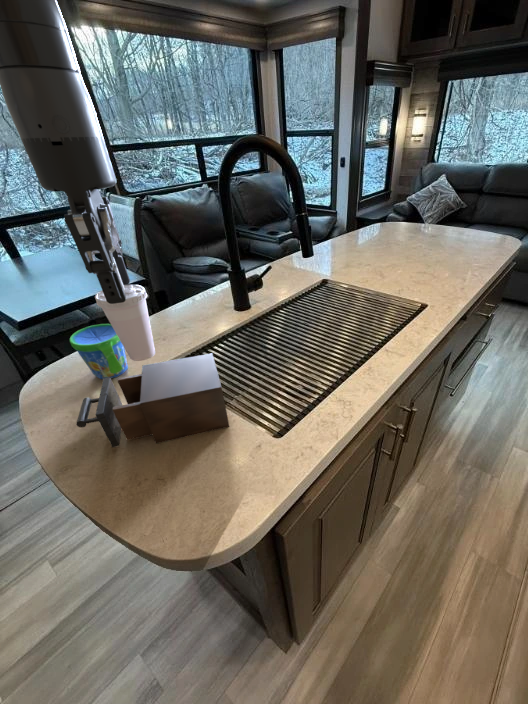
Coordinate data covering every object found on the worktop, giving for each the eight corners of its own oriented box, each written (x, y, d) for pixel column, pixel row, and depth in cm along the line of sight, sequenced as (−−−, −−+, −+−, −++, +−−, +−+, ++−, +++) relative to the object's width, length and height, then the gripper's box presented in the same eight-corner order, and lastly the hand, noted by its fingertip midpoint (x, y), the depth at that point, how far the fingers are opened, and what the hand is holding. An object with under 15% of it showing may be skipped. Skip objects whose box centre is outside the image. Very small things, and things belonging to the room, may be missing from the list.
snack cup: (143, 379, 78) (128, 340, 71) (94, 395, 73) (74, 355, 67) (127, 352, 88) (113, 316, 82) (83, 364, 83) (64, 327, 77)
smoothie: (173, 347, 52) (145, 253, 43) (145, 369, 47) (108, 268, 39) (140, 341, 54) (107, 250, 45) (110, 361, 49) (67, 264, 40)
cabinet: (156, 443, 61) (139, 403, 55) (156, 403, 71) (142, 365, 65) (229, 426, 64) (221, 387, 59) (220, 390, 74) (212, 353, 68)
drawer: (86, 453, 58) (66, 420, 53) (95, 413, 67) (78, 382, 62) (184, 431, 62) (174, 398, 58) (180, 396, 71) (171, 365, 66)
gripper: (40, 135, 39) (97, 279, 49) (-7, 133, 28) (79, 318, 38) (109, 134, 40) (150, 273, 51) (90, 131, 30) (147, 309, 40)
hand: (120, 292), depth 45 cm, fingers closed on smoothie, 6 cm apart
